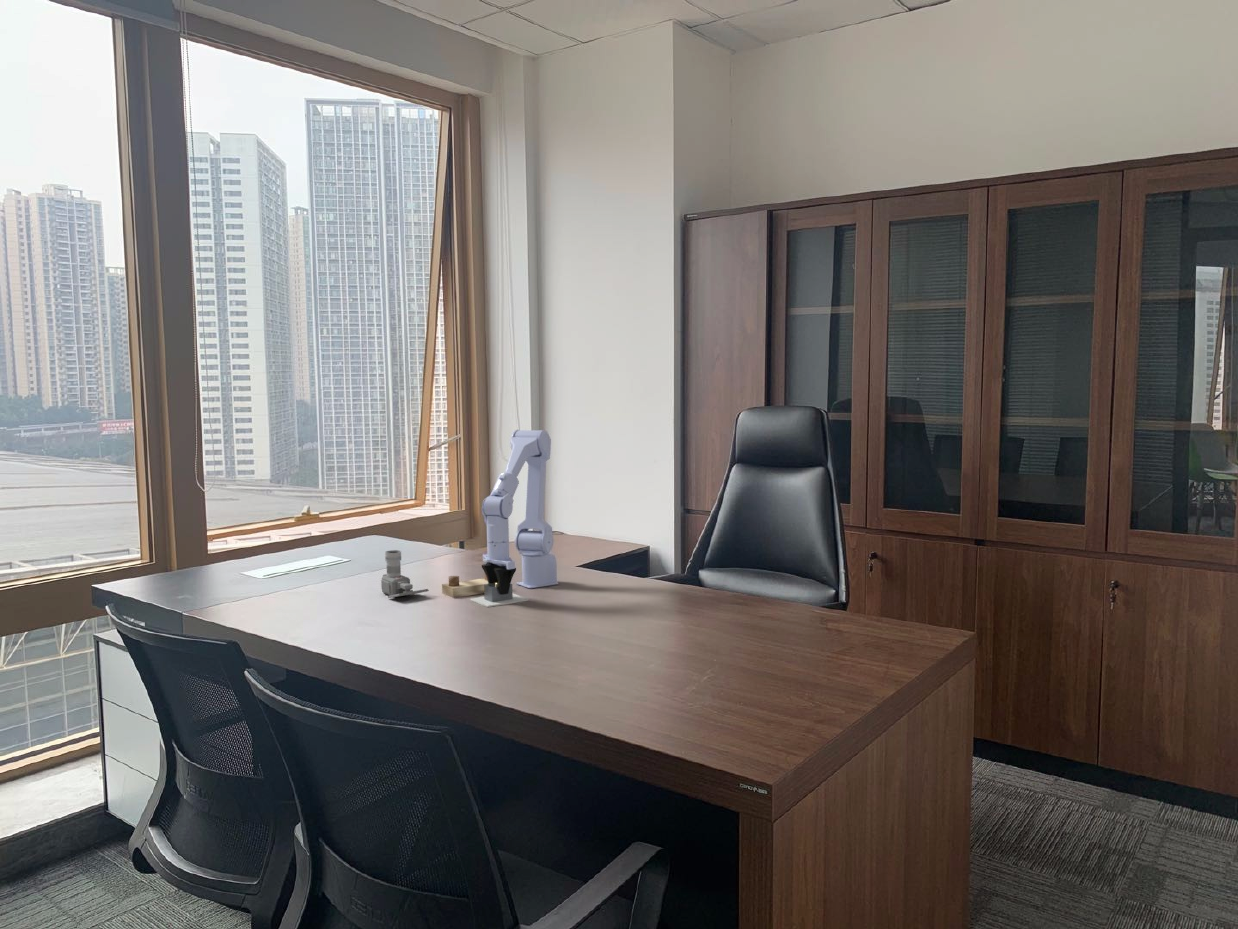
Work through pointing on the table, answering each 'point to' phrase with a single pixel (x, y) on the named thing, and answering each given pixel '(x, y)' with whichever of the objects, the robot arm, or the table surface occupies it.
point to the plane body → (463, 587)
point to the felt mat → (489, 604)
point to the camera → (396, 577)
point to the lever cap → (496, 593)
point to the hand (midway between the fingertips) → (499, 592)
